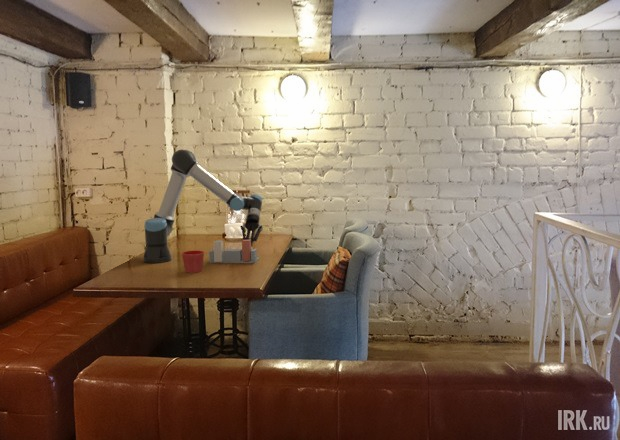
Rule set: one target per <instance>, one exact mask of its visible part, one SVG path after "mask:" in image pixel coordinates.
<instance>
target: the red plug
mask: <svg viewBox="0 0 620 440" xmlns="http://www.w3.org/2000/svg"><path fill="white" fill-rule="evenodd" d="M241 249H242V261H251V250H252V247H251V239H249V240H241Z"/></svg>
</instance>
